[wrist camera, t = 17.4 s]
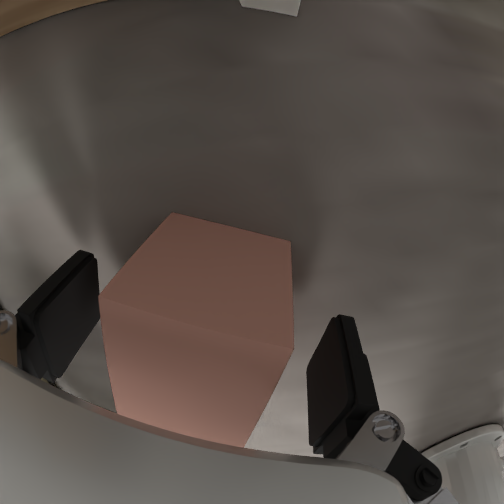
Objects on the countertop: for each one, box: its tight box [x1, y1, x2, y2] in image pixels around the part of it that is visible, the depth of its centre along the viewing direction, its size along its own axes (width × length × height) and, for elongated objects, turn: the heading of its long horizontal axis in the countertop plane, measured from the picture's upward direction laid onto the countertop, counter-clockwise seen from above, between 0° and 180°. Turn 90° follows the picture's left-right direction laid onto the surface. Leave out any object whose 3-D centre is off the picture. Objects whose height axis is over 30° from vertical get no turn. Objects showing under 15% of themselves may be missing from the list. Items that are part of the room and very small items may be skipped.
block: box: [98, 212, 294, 448], centre depth 10 cm, size 4×6×6 cm
